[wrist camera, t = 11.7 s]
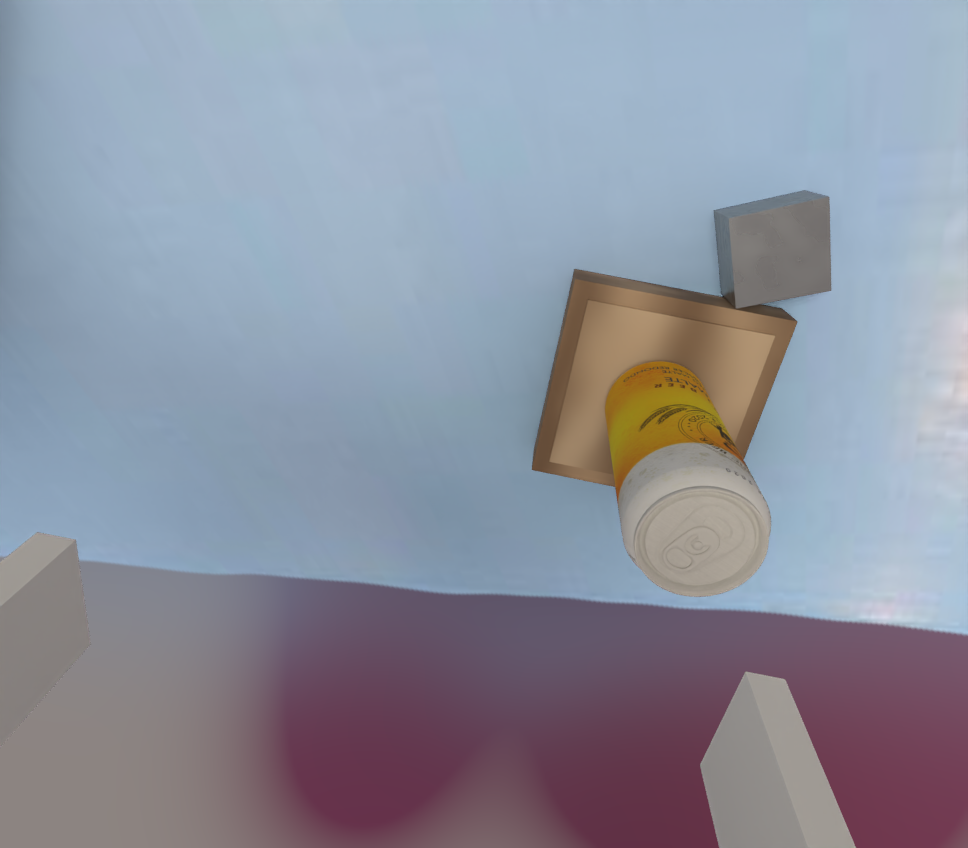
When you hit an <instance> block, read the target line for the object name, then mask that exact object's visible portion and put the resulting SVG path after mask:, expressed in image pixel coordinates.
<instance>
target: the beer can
mask: <svg viewBox="0 0 968 848" xmlns="http://www.w3.org/2000/svg"><path fill="white" fill-rule="evenodd" d="M605 417H606V424H607V431H608V438H609V445H610V452H611V459H612V466H613V473H614V480H615V487H616V494H617V501H618V508H619V515H620V523H621V530H622V536H623V542H624V545H625V548H626V550H627V553H628V554H629V556H630V558H631V559H632V561H633V562H634V563H635V564H636V565H637V566H638V567H639V568H640V569H641V570H642V571H643V573H644V574H645V575H646V576H647V577H648V578H649V579H650V580H651V581H652V582H653V583H655V584H656V585H657V586H659V587H661V588H663V589H665V590H667V591H669V592H672V593H675V594H679V595H684V596H692V597H703V596H712V595H717V594H721V593H724V592H727V591H729V590H732V589H734V588H736V587H738V586H739V585H741V584H742V583H744V582H745V581H747V580H748V579H749V578H750V577H751V576H752V575H753V574H754V573H755V572H756V571H757V570H758V568H759V567H760V566H761V564H762V562H763V560H764V558H765V556H766V553H767V549H768V542H769V535H770V531H771V516H770V511H769V508H768V505H767V503H766V501H765V499H764V497H763V495H762V493H761V491H760V490H759V488H758V486H757V484H756V482H755V480H754V479H753V477H752V475H751V473H750V471H749V469H748V468H747V466H746V464H745V462H744V460H743V458H742V456H741V455H740V453H739V451H738V449H737V447H736V445H735V444H734V442H733V440H732V438H731V436H730V434H729V432H728V431H727V429H726V427H725V425H724V423H723V421H722V420H721V418H720V416H719V414H718V412H717V410H716V409H715V407H714V405H713V403H712V401H711V399H710V397H709V396H708V394H707V392H706V390H705V388H704V386H703V385H702V383H701V381H700V380H699V379H698V378H697V376H696V375H695V374H694V373H692V372H691V371H690V370H688V369H687V368H685V367H683V366H681V365H678V364H675V363H671V362H665V361H654V362H647V363H643V364H640V365H637V366H635V367H633V368H631V369H630V370H628V371H626V372H625V373H624V374H622V375H621V376H620V377H619V378H618V379H617V380H616V382H615V383H614V384H613V386H612V387H611V389H610V391H609V393H608V396H607V399H606V403H605Z"/></svg>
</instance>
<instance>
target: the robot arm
mask: <svg viewBox="0 0 968 848" xmlns="http://www.w3.org/2000/svg"><path fill="white" fill-rule="evenodd" d="M90 645H91V642H90V635H89V628H88V621H87V614H86V607H85V600H84V593H83V587H82V579H81V573H80V565H79V558H78V551H77V544H76V540H74V539H69V538H64V537H59V536H54V535H49V534H44V533H39V532H37V533H36V534H34V535H33V536H32V537H31V538H29V539H28V540H27V541H26V542H24V543H23V544H22V545H21V546H20V547H18V548H17V549H16V550H15V551H13V552H12V553H11V554H10V555H8V556H7V557H6V558H5V559H3V560H2V561H1V562H0V747H1V746H2V745H3V744H4V743H5V741H6V740H7V739H8V738H9V737H10V736H11V735H12V734H13V732H14V731H15V730H16V729H17V728H18V727H19V726H20V724H21V723H22V722H23V721H24V720H25V719H26V718H27V716H28V715H29V714H30V713H31V712H32V711H33V710H34V708H35V707H36V706H37V705H38V704H39V703H40V702H41V701H42V699H43V698H44V697H45V696H46V694H48V692H49V691H50V690H51V689H52V688H53V687H54V686H55V685H56V683H57V682H58V681H59V680H60V679H61V678H62V677H63V675H64V674H65V673H66V672H67V671H68V670H69V669H70V667H71V666H72V665H73V664H74V663H75V662H76V661H77V659H78V658H79V657H80V656H81V655H82V654H83V652H84V651H85V650H86V649H87V648H88V647H89V646H90ZM700 767H701V771H702V776H703V780H704V784H705V788H706V792H707V797H708V801H709V806H710V810H711V814H712V819H713V823H714V827H715V831H716V836H717V840H718V844H719V848H856V847H855V845H854V842H853V840H852V837H851V835H850V833H849V831H848V828H847V826H846V823H845V821H844V818H843V816H842V814H841V811H840V809H839V807H838V804H837V802H836V799H835V797H834V795H833V792H832V790H831V788H830V785H829V783H828V781H827V778H826V776H825V773H824V771H823V768H822V766H821V764H820V761H819V759H818V757H817V755H816V752H815V749H814V747H813V745H812V742H811V740H810V738H809V735H808V733H807V730H806V728H805V726H804V723H803V721H802V719H801V716H800V714H799V712H798V709H797V707H796V704H795V702H794V699H793V697H792V695H791V693H790V690H789V688H788V685H787V683H786V680H785V679H780V678H775V677H770V676H765V675H760V674H755V673H750V672H745V674H744V676H743V678H742V680H741V682H740V684H739V686H738V688H737V690H736V692H735V694H734V696H733V698H732V701H731V702H730V705H729V707H728V709H727V711H726V713H725V715H724V717H723V719H722V721H721V723H720V725H719V727H718V729H717V732H716V733H715V735H714V737H713V740H712V742H711V744H710V746H709V748H708V750H707V752H706V754H705V756H704V758H703V760H702V762H701V764H700Z"/></svg>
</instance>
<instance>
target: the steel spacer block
mask: <svg viewBox="0 0 968 848" xmlns="http://www.w3.org/2000/svg"><path fill="white" fill-rule="evenodd" d="M714 218H715V230H716V241H717V252H718V264H719V275H720V286H721V293H722V294H723V295H724V297H725V298H726V299H727V300H728V301H729V302H730V303H731V304H732V305H733V306H734V307H735V308H736V309H737V308H742V307H747V306H753V305H758V304H763V303H768V302H774V301H779V300H784V299H790V298H795V297H800V296H806V295H811V294H816V293H822V292H827V291H831V255H830V206H829V196H825V195H821V194H817V193H813V192H809V191H805V190H804V191H799V192H795V193H790V194H785V195H781V196H776V197H772V198H767V199H763V200H758V201H754V202H749V203H745V204H740V205H735V206H731V207H726V208H722V209H717V210H714Z"/></svg>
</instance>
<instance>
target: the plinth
mask: <svg viewBox="0 0 968 848" xmlns="http://www.w3.org/2000/svg"><path fill="white" fill-rule="evenodd" d="M796 324H797V321H796V320H795V319H794V318H793V317H791V316H790V315H789V314H788V313H787V312H785V311H784V310H783V309H782V308H777V307H772V306H766V305H761V304H758V305H753V306H747V307H742V308H737V309H736V308H735V307H734V306H733V305H732V304H731V303H730V302H729V301H728V300H727V299H726V298H725V297H719V296H714V295H709V294H704V293H698V292H693V291H688V290H683V289H677V288H672V287H667V286H662V285H656V284H651V283H646V282H641V281H635V280H630V279H625V278H620V277H614V276H609V275H604V274H599V273H593V272H588V271H583V270H578V269H574V274H573V278H572V283H571V287H570V292H569V296H568V300H567V305H566V309H565V314H564V318H563V323H562V327H561V332H560V336H559V341H558V345H557V349H556V354H555V358H554V363H553V367H552V372H551V376H550V381H549V385H548V389H547V394H546V398H545V403H544V407H543V412H542V416H541V421H540V425H539V429H538V434H537V438H536V443H535V447H534V454H533V463H532V470H535V471H540V472H545V473H550V474H555V475H560V476H564V477H569V478H574V479H579V480H584V481H589V482H594V483H599V484H604V485H609V486H614V487H615V480H614V473H613V466H612V459H611V452H610V445H609V438H608V431H607V424H606V417H605V403H606V399H607V396H608V393H609V391H610V389H611V387H612V386H613V384H614V383H615V382H616V380H617V379H618V378H619V377H620V376H621V375H622V374H624V373H625V372H626V371H628V370H630V369H631V368H633V367H635V366H637V365H640V364H643V363H647V362H654V361H665V362H671V363H675V364H678V365H681V366H683V367H685V368H687V369H688V370H690V371H691V372H692V373H694V374H695V375H696V376H697V378H698V379H699V380H700V381H701V383H702V385H703V386H704V388H705V390H706V392H707V394H708V396H709V397H710V399H711V401H712V403H713V405H714V407H715V409H716V410H717V412H718V414H719V416H720V418H721V420H722V421H723V423H724V425H725V427H726V429H727V431H728V432H729V434H730V436H731V438H732V440H733V442H734V444H735V445H736V447H737V449H738V451H739V453H740V455H741V456H742V458H743V460H744V457H745V455H746V452H747V450H748V447H749V444H750V442H751V439H752V437H753V434H754V432H755V429H756V427H757V424H758V421H759V419H760V416H761V414H762V411H763V409H764V406H765V404H766V401H767V398H768V396H769V393H770V391H771V388H772V386H773V383H774V381H775V378H776V375H777V373H778V370H779V368H780V365H781V363H782V360H783V358H784V355H785V352H786V350H787V347H788V345H789V342H790V340H791V337H792V335H793V332H794V329H795V327H796Z"/></svg>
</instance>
